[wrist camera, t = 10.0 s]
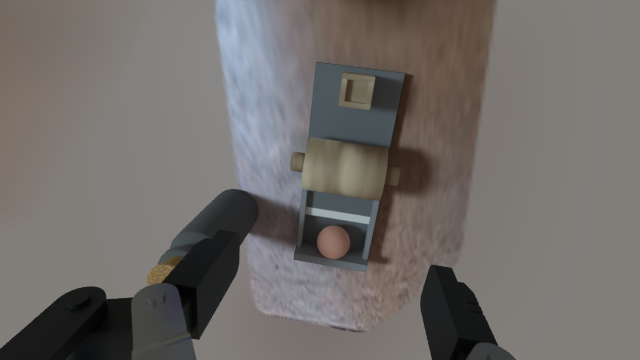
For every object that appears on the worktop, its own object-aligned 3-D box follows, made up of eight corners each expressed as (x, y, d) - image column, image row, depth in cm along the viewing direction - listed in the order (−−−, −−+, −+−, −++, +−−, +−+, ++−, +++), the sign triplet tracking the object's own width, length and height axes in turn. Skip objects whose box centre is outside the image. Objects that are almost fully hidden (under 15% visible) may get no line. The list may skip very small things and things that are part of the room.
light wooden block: (345, 70, 33) (342, 72, 29) (373, 74, 33) (375, 77, 29) (341, 99, 34) (338, 105, 30) (368, 103, 34) (369, 110, 30)
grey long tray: (317, 62, 33) (313, 62, 30) (403, 73, 32) (407, 74, 30) (298, 246, 42) (293, 259, 39) (365, 257, 41) (366, 272, 38)
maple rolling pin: (295, 176, 37) (284, 195, 32) (299, 129, 35) (288, 142, 30) (390, 190, 36) (395, 213, 31) (400, 144, 34) (407, 159, 29)
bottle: (209, 191, 40) (129, 262, 26) (252, 186, 39) (192, 257, 25) (222, 230, 42) (154, 316, 28) (263, 226, 41) (213, 313, 27)
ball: (319, 231, 41) (320, 217, 38) (349, 236, 41) (353, 222, 37) (314, 260, 39) (314, 248, 35) (346, 266, 38) (349, 254, 35)
